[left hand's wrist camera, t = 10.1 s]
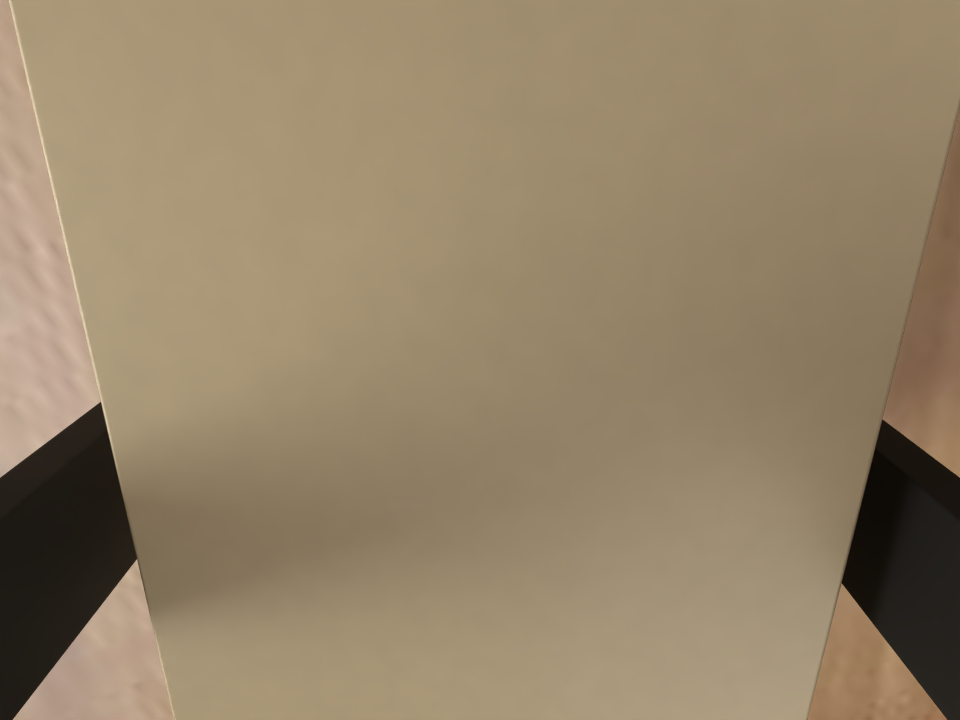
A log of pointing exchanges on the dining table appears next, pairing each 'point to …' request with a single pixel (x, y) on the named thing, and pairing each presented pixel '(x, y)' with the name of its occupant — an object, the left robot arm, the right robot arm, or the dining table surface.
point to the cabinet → (493, 335)
